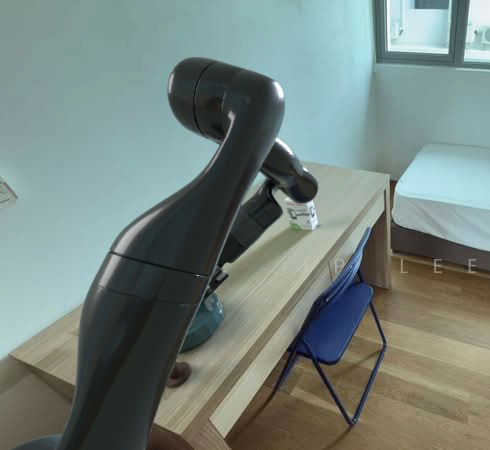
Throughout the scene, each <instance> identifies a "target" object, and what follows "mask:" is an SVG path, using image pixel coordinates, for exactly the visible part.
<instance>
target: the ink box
mask: <svg viewBox="0 0 490 450" xmlns="http://www.w3.org/2000/svg"><path fill="white" fill-rule="evenodd" d="M313 200H314V199H313ZM313 200H312V201H311V202H309V203H306V204H297V203H295V202H293V201H292V200H291V199H290V198H288V197H287V196H286V197H285V199H283V204H284V207H285V211H286V215H287V218H288V223H289V225H290V228H291V229H294V230H304V231H314V230H315V228H316V227H317V226H318V224H319V223H318V222H319V221H318V219H317V218H318V217H317V213H316V209H315V204H314V201H313Z"/></svg>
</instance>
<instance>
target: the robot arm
mask: <svg viewBox="0 0 490 450" xmlns="http://www.w3.org/2000/svg"><path fill="white" fill-rule="evenodd" d="M166 90H167V91H166V93H167V94H166V95H167V101H168V105H169V109H170V110H171V112H172V115H173V116H174V118H175V119H176V121H177V122H178V123H179V125H181V126H182V127H183V128H184V129H186V130H187V131H189V132H190V133H192V134H194V135H196V136H198V137H200V138H202V139H206V140H209V141H210V142H212V143H214V144H216V145H218V148H217V149H216V151H215V152H214V154H213V155H212V157H211V158H210V160H209V162H208V163H207V164H206V165H205V167H204V168H203V169H202V170H201V171H200V173H198V175H196V176H195V177H194V178H193V179H192V180H191V181H190V182H188V183H187V184H185V185H184V186H183V187H181V188H179V189H178V190H177V191H175V192H174V193H172V194H171V195H169V196H167V197H166V198H164V199H162V200H161V201H159V202H158V203H156V204H155V205H153V206H152V207H150V208H148V209H147V210H146V211H144V212H143V213H141V214H140V215H139V216H136V218H134V219H133V220H132V221H131V222H129V224H127V225H126V226H125V227H124V228H123V229H121V231H120V232H119V233H118V234H117V236H116V237H115V239H114V240H113V242H112V243H111V245H110V247H109V250H108V251H107V253H106V255H105V257H104V259H103V260H102V262H101V264H100V266H99V268H98V270H97V272H96V274H95V275H94V277H93V280H92V282H91V284H90V286H89V288H88V291H87V293H86V295H85V298H84V301H83V304H82V308H81V313H80V317H79V325H78V335H77V352H76V353H77V354H76V376H75V385H74V393H73V399H72V402H71V403H72V404H71V407H70V411H69V414H68V416H67V420H66V423H65V425H64V427H63V430H62V432H61V433H56V434H55V433H54V434H49V435H42V436H39V437H36V438H32V439H30V440H27V441H24V442H22V443H20V444H17V445H15V446H13V447H11V448H9V449H8V450H146V448H147V446H148V443H149V439H150V435H151V432H152V429H153V426H154V422H155V420H156V416H157V413H158V410H159V407H160V404H161V401H162V398H163V396H164V394H165V393H164V392H165V390H166V388H167V387H166V385H167V383H168V380H169V378H170V375H171V373H172V370H173V368H174V365H175V363H176V361H177V360H178V357H179V354H180V352H181V351H180V350H181V347H182V344H183V342H184V340H185V337H186V335H187V332H188V330H189V328H190V326H191V323H192V321H193V319H194V317H195V315H196V313H197V311H198V308H199V306H200V304H201V302H202V299H203V300H205V299H207V298H208V297H209V296H210V295H211V294H212V293H213V292H214V293H215V291H216V290H217V289H218V288H219V287H220V286H221V285H222V284H224V282H225V281H226V280H227V279H228V278H229V277H230V274H229V272H228V271H226V270H224V269H223V267H224V266H225V265H226V264H233V263H235V262H236V261H237V260H238V259H239V258H240V257H241V256H242V255H243V254H244V253H246V252H247V251H248V250H249V249H250V248H251V247H252V246H253V245H254V244H255V243H257V242H258V241H259V239H261V237H262V236H263V235H264V234H265V232H267V231H268V229H270V228H271V227H272V226H273V225H274V224H275V223H276V222H277V221H278V220H280V219H281V218H282V217H283V215H284V209H283V207H282V205H281V204H280V203H279V201H278V200H277V199H276V195H277V192H278V191H280V192H281V193H283V194H284V195H285V196H286V197H288V198H290V199H291V200H292V201H293V202H295V203H297V204H306V203H309V202H311V201H312V200H315V198H316V197H317V195H318V193H319V189H320V188H319V181H318V180H317V178H316V177H315V175H313V173H311V172H310V171H309V170H308V169H307V168H306V167H305V165H303V163H302V162H301V160H300V159H299V157H298V156H297V154H296V153H295V151H294V150H293V148H291V146H290V145H289V144H287V142H286V141H284V140H283V139H281V138H280V137H279V134H280V131H281V128H282V125H283V122H284V118H285V113H286V112H285V111H286V96H285V91H284V90H283V88H282V87H281V85H280V84H279V82H277V80H275V79H274V78H272V77H270V76H268V75H265V74H263V73H260V72H257V71H254V70H251V69H248V68H243V67H240V66H238V65H235V64H231V63H227V62H224V61H220V60H217V59H214V58H209V57H204V56H203V57H202V56H191V57H187V58H184V59H181V61H179V62H178V63H177V64H176V65H174V67H173V69H172V71H171V73H170V75H169V77H168V82H167V89H166ZM258 174H261V175H262V176H263V177H265V179H264V180H263V182H262V184H261V185H260V186H259V187H258V189H257V190H256V191H255V192H254V194H252V195H251V196H250V198H248V199H247V200H246V201H245V199H246V197H247V195H248V193H249V191H250V189H251V188H252V186H253V184H254V182H255V180H256V178H257V177H258ZM244 201H245V202H244Z"/></svg>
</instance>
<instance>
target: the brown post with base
mask: <svg viewBox="0 0 490 450" xmlns="http://www.w3.org/2000/svg"><path fill="white" fill-rule="evenodd" d="M192 371H193V370H192V366H191V365H190V364H189V362H186V361H177V360H176V363H175V365H174V368H173V370H172V373H171V375H170V378H169V380H168V383H167V385H166V388H168V389H174V388H178V387H180V386H182V385H183V384H184V383H186V382H187V381H188V380H189V378H190V377H191V375H192Z"/></svg>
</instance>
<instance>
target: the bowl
mask: <svg viewBox="0 0 490 450" xmlns="http://www.w3.org/2000/svg"><path fill="white" fill-rule="evenodd" d="M224 318H225V309H224V306H223V304H222V301H221V300H220V298H219V297H218V294H217V293H216V292H215V291H214V292H213V293H212V294H211V295H210V296H209V297H208V298H207V299H205V300H203V299H202V302H201V304H200V306H199V308H198V311H197V313H196V315H195V317H194V319H193V321H192V323H191V326H190V328H189V330H188V332H187V335H186V337H185V340H184V342H183V344H182V347H181V350H180V352H183V351H186V350H190V349H192V348H194V347H196V346H198V345H200V344H202V343H203V342H204V341H206V340H207V339H208V338H210V337H211V336H213V335H214V333H215V332H216V331H217V330H218V329H219V327H220V326H221V325H222V322H223V320H224Z"/></svg>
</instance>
